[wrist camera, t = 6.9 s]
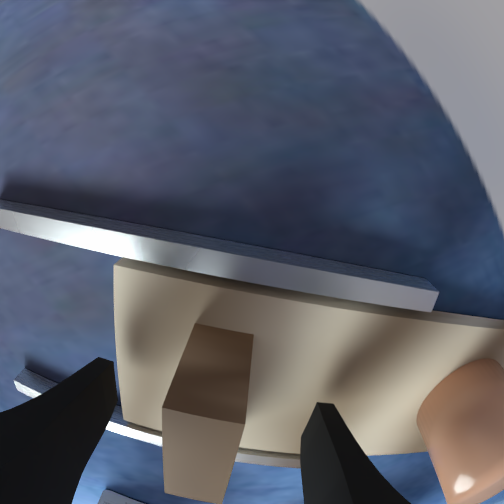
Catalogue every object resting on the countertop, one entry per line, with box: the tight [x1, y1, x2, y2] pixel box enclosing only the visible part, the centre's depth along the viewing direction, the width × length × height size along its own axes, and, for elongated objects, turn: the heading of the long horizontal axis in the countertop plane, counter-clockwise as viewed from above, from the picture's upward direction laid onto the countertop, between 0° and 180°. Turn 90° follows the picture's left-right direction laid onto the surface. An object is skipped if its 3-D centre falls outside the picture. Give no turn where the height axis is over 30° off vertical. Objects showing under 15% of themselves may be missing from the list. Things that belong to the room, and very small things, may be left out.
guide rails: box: [0, 199, 439, 468], centre depth 12 cm, size 18×10×1 cm, turn 80°
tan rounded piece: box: [416, 358, 504, 504], centre depth 9 cm, size 5×5×5 cm
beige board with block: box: [114, 257, 504, 504], centre depth 10 cm, size 19×8×5 cm, turn 80°
